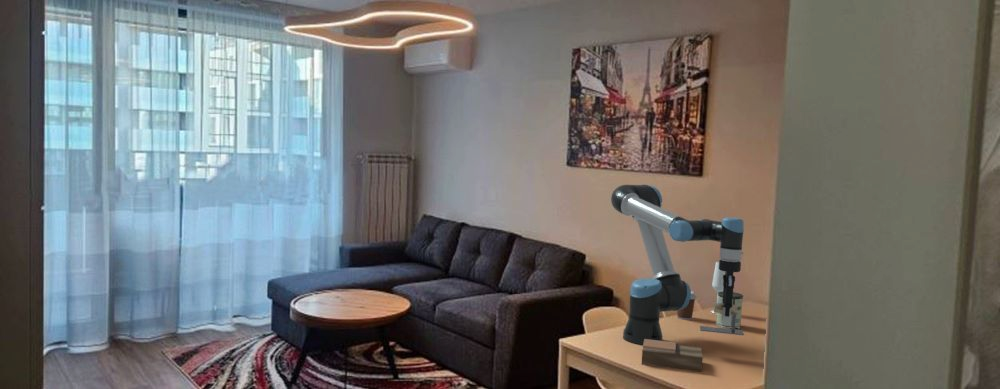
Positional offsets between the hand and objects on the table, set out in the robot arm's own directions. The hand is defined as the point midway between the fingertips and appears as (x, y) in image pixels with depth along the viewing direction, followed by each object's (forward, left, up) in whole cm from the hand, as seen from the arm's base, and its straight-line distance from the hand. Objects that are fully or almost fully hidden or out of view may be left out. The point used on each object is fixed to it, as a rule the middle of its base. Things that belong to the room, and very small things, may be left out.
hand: (725, 323), depth 246 cm
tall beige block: (0, -1, -3) cm, 3 cm away
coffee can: (-49, +5, -13) cm, 51 cm away
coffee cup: (-55, -13, -13) cm, 58 cm away
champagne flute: (-72, +2, -13) cm, 73 cm away
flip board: (+16, -19, -12) cm, 27 cm away
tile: (+16, -23, -6) cm, 29 cm away
